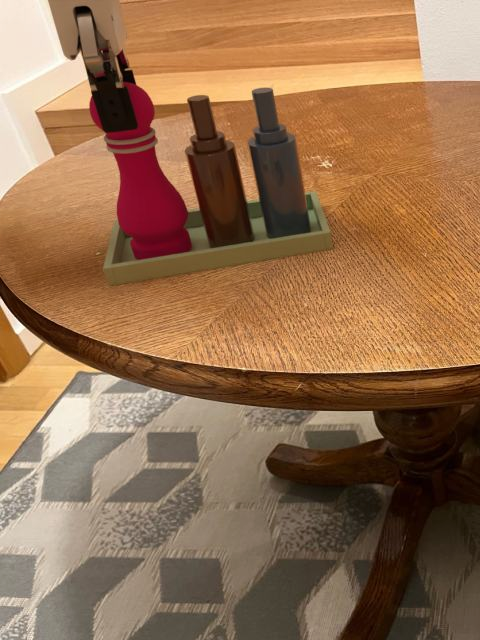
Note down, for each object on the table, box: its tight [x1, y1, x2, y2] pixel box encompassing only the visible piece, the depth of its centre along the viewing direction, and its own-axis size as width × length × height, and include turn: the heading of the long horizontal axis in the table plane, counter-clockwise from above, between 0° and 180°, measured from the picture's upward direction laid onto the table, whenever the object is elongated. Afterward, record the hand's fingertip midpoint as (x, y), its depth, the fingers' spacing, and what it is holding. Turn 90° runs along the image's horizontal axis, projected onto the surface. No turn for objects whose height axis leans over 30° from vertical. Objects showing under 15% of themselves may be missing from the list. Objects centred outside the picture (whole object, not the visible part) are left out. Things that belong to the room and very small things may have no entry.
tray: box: [102, 190, 334, 287], centre depth 83 cm, size 24×13×2 cm, turn 107°
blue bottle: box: [246, 87, 311, 239], centre depth 81 cm, size 5×5×16 cm
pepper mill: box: [88, 69, 192, 260], centre depth 77 cm, size 7×7×20 cm
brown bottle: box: [184, 94, 255, 248], centre depth 80 cm, size 5×5×16 cm
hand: (124, 118), depth 74 cm, fingers closed on pepper mill, 6 cm apart
